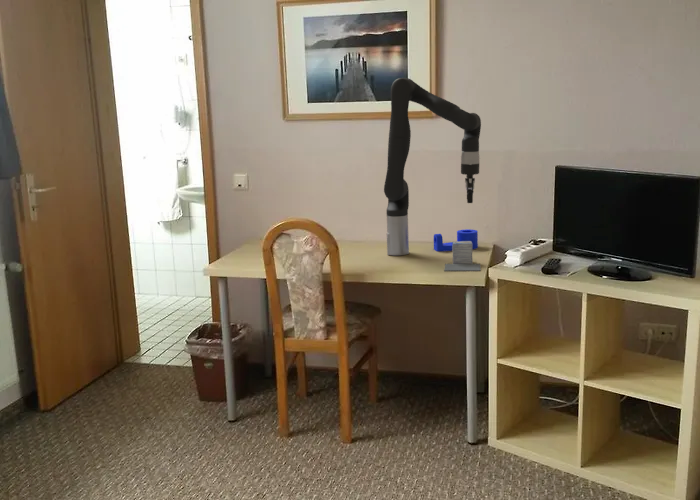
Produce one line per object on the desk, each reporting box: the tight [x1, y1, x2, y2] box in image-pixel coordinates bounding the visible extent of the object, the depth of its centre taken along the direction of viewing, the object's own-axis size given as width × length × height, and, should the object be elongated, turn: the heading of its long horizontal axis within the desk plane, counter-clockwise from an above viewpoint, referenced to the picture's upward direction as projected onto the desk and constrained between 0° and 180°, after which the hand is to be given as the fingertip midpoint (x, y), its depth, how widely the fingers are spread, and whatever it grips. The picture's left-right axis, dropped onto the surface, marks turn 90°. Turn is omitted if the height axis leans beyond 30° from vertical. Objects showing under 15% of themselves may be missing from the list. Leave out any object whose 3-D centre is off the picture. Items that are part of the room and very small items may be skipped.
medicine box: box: [452, 241, 474, 264], centre depth 291 cm, size 8×4×9 cm, turn 84°
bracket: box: [433, 228, 479, 252], centre depth 319 cm, size 20×9×8 cm, turn 102°
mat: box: [443, 263, 482, 272], centre depth 284 cm, size 14×11×1 cm
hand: (469, 201), depth 298 cm, fingers open, 8 cm apart
